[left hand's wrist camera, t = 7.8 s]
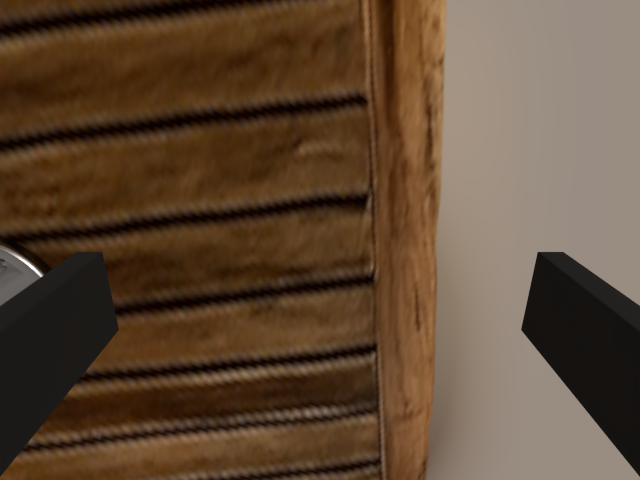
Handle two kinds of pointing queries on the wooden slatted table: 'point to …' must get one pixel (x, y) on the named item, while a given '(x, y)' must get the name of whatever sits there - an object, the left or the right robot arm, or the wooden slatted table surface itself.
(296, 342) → the wooden slatted table surface
